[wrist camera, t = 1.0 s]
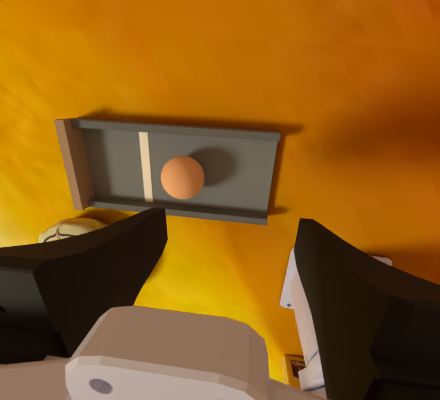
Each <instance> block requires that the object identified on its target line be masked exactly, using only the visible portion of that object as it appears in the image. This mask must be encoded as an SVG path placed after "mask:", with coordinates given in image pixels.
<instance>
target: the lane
mask: <svg viewBox="0 0 440 400" xmlns="http://www.w3.org/2000/svg"><path fill="white" fill-rule="evenodd" d="M54 122H55V126H56V131H57V135H58V139H59V144H60V148H61V152H62V156H63V161H64V165H65V169H66V174H67V178H68V182H69V186H70V191H71V195H72V199H73V204H74V208H75V209H77V210H84V209H85V208H87V207H97V208H106V209H116V210H125V211H135V212H142V211H145V210H147V209H150V208H154V207H158V208H165V213H166V215H173V216H182V217H192V218H201V219H211V220H220V221H230V222H240V223H249V224H259V225H267V220H268V219H267V208H268V201H269V195H270V188H271V181H272V175H273V168H274V161H275V155H276V148H277V141H278V142H280V136H281V133H280V132H279V131H270V130H254V129H239V128H224V127H208V126H193V125H178V124H162V123H147V122H132V121H116V120H101V119H86V118H69V119H56V120H54ZM177 156H187V157H190V158H193V159H194V160H196V161H197V162H198V163H199V164H200V165H201V167H202V169H203V171H204V177H205V179H204V185H203V187H202V189H201V190H200V192H199V193H198V194H197V195H195V196H194V197H192V198H189V199H177V198H174V197H172V196H171V195H169V194H168V193H167V192H166V191H165V189H164V188H163V185H162V182H161V172H162V169H163V167H164V165H165V164H166V163H167V162H168V161H169V160H170V159H172V158H174V157H177Z"/></svg>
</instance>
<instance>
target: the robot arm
mask: <svg viewBox="0 0 440 400" xmlns="http://www.w3.org/2000/svg"><path fill="white" fill-rule="evenodd" d="M167 240H168V237H167V225H166V213H165V208H158V207H154V208H150V209H147V210H145V211H142V212H140V213H138V214H136V215H133V216H131V217H129V218H126V219H124V220H121V221H119V222H116V223H114V224H111V225H109V226H106V227H103V228H100V229H97V230H94V231H91V232H87V233H84V234H80V235H76V236H72V237H67V238H63V239H59V240H53V241H48V242H42V243H36V244H29V245H21V246H12V247H2V248H0V400H440V285H438V284H435V283H432V282H430V281H427V280H424V279H421V278H419V277H416V276H414V275H411V274H408V273H406V272H404V271H401V270H399V269H397V268H394V267H392V261H391V260H390V259H389V258H386V257H377V256H370V255H368V254H366V253H364V252H362V251H360V250H359V249H357V248H355V247H354V246H352V245H350V244H349V243H347V242H346V241H344V240H343V239H341V238H340V237H338V236H337V235H335V234H334V233H332V232H331V231H329V230H328V229H327V228H325V227H324V226H322V225H321V224H319V223H318V222H316V221H315V220H313V219H304V218H300V221H299V226H298V232H297V237H296V242H295V248H293V249H292V250H291V253H290V257H289V262H288V267H287V271H286V276H285V281H284V285H283V290H282V294H281V299H280V305H281V306H282V307H284V308H291V309H294V313H295V318H296V322H297V327H298V332H299V336H300V341H301V346H302V350H303V355H304V360H305V365H306V368H304V369H302V370H300V371H299V372H298V374H299V379H300V385H301V389H297V388H295V387H292V386H289V385H287V384H284V383H282V382H279V381H276V380H274V379H271V378H269V365H268V353H267V349H266V345H265V341H264V338H262V337H261V336H260V335H259V334H258V333H257V332H256V331H255V330H253V329H252V328H251V327H250V326H249V325H247V324H245V323H242V322H239V321H236V320H233V319H230V318H227V317H219V316H211V315H203V314H195V313H187V312H180V311H172V310H164V309H156V308H148V307H140V306H133V304H134V302H135V300H136V298H137V296H138V294H139V292H140V290H141V288H142V286H143V285H144V283H145V282H146V280H147V278H148V277H149V275H150V273H151V272H152V270H153V268H154V267H155V265H156V263H157V262H158V260H159V258H160V257H161V255H162V253H163V250H164V248H165V245H166V243H167Z"/></svg>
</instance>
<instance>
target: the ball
mask: <svg viewBox="0 0 440 400" xmlns="http://www.w3.org/2000/svg"><path fill="white" fill-rule="evenodd" d="M204 179H205V177H204V171H203V169H202V167H201V165H200V164H199V163H198V162H197V161H196V160H194V159H193V158H190V157H187V156H177V157H174V158H172V159H170V160H169V161H168V162H167V163H166V164H165V165H164V167H163V169H162V172H161V182H162V185H163V188H164V189H165V191H166V192H167V193H168V194H169V195H171V196H172V197H174V198H177V199H189V198H192V197H194V196H195V195H197V194H198V193H199V192H200V190H201V189H202V187H203V185H204Z"/></svg>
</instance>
